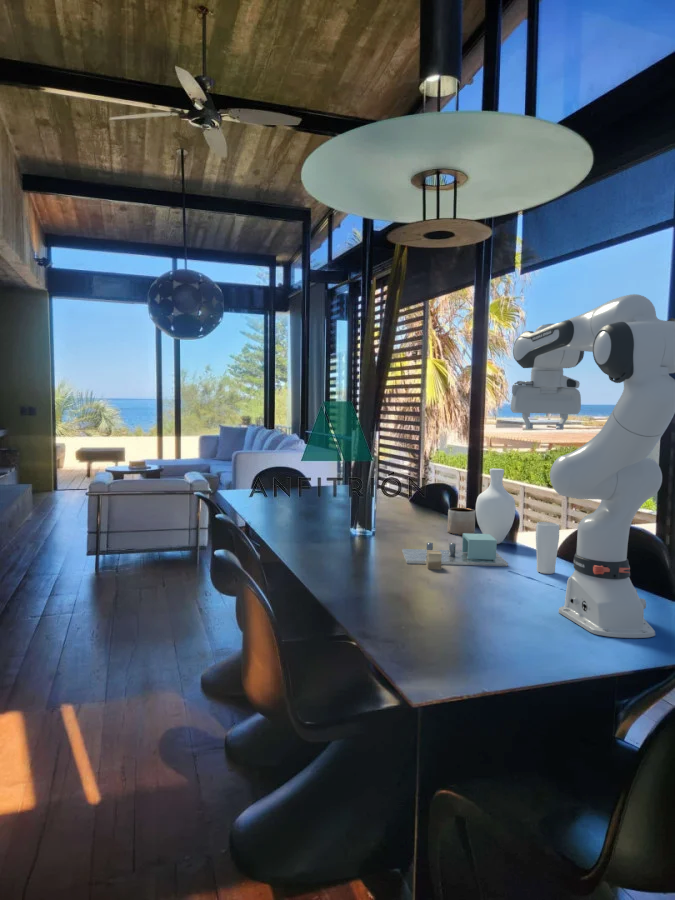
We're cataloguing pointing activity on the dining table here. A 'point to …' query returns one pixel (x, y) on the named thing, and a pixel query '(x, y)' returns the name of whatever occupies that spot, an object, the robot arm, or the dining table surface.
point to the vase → (495, 508)
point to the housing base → (450, 557)
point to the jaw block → (434, 559)
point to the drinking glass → (546, 546)
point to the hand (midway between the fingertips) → (544, 429)
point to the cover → (479, 546)
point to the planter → (461, 521)
